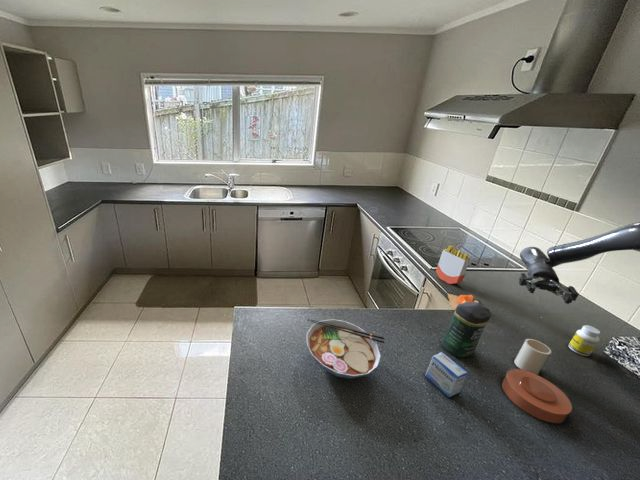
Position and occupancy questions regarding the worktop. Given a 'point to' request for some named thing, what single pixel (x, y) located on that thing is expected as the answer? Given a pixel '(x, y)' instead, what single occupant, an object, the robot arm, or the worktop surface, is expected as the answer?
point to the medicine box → (446, 374)
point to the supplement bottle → (585, 340)
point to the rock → (459, 300)
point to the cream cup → (532, 356)
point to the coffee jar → (466, 328)
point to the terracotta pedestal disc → (536, 396)
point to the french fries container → (452, 265)
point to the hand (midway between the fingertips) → (550, 296)
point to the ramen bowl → (343, 348)
